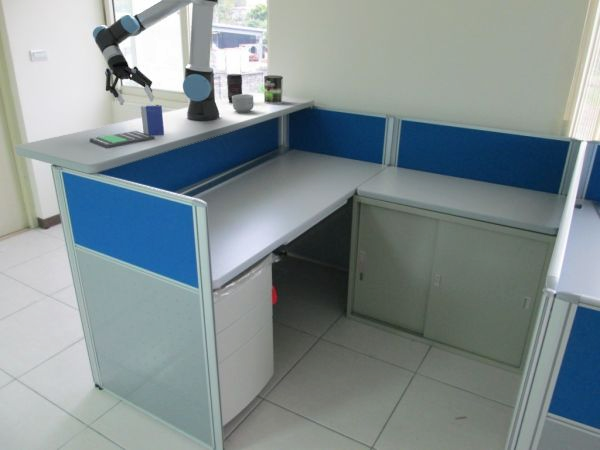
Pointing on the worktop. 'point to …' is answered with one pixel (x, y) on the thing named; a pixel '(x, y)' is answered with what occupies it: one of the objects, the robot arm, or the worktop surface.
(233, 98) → the teacup
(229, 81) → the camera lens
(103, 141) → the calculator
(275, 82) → the coffee can
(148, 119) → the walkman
